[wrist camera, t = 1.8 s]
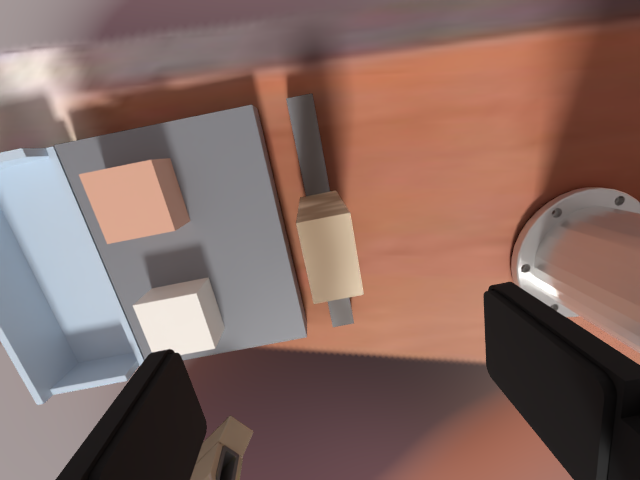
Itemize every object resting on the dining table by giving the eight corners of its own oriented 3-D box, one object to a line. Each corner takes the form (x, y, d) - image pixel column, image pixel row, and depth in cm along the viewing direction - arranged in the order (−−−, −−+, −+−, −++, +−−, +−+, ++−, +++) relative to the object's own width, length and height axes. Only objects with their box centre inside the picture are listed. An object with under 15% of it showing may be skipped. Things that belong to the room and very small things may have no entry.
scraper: (318, 96, 25) (324, 59, 15) (356, 311, 31) (380, 396, 20) (281, 103, 25) (262, 72, 15) (326, 317, 31) (335, 404, 21)
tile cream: (208, 277, 26) (196, 293, 24) (224, 327, 28) (215, 348, 25) (151, 288, 27) (132, 305, 24) (170, 338, 28) (155, 360, 25)
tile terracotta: (170, 158, 24) (150, 159, 21) (190, 221, 25) (175, 230, 22) (106, 171, 24) (78, 174, 21) (130, 233, 25) (107, 244, 22)
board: (257, 108, 25) (251, 104, 23) (306, 322, 31) (306, 337, 28) (78, 145, 25) (54, 145, 23) (160, 350, 31) (148, 367, 29)
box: (72, 146, 25) (17, 146, 21) (155, 351, 31) (127, 388, 26) (-22, 165, 26) (-98, 169, 21) (78, 365, 31) (37, 405, 27)
